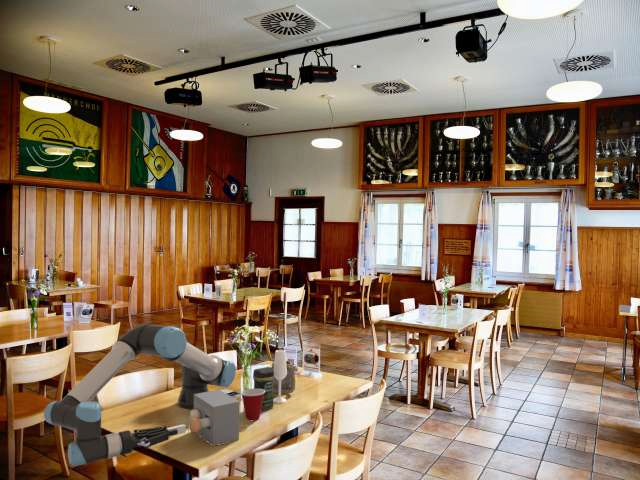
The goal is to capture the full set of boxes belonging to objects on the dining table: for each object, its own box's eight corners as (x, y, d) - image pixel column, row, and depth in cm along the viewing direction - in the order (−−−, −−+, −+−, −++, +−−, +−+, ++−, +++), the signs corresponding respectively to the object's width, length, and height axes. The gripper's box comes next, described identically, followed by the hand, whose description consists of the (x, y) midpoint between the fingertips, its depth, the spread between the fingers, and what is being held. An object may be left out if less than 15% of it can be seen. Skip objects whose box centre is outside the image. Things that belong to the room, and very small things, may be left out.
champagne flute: (273, 403, 237) (274, 352, 237) (271, 398, 244) (272, 349, 244) (287, 402, 239) (288, 352, 238) (285, 397, 245) (286, 349, 245)
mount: (193, 431, 202) (193, 394, 202) (218, 425, 209) (218, 389, 209) (212, 446, 188) (213, 407, 188) (238, 439, 195) (239, 401, 194)
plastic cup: (252, 411, 225) (253, 385, 225) (269, 417, 218) (270, 390, 218) (234, 418, 217) (235, 391, 217) (251, 424, 210) (252, 396, 210)
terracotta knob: (189, 430, 190) (189, 416, 190) (216, 423, 197) (216, 410, 197) (194, 435, 186) (194, 421, 186) (222, 428, 193) (222, 414, 193)
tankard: (265, 388, 260) (266, 359, 260) (286, 384, 267) (287, 356, 267) (284, 399, 243) (284, 368, 243) (306, 395, 250) (306, 365, 250)
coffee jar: (259, 412, 224) (260, 371, 224) (249, 407, 230) (250, 367, 230) (276, 407, 231) (277, 368, 231) (266, 403, 237) (267, 364, 237)
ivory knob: (189, 421, 199) (189, 408, 199) (215, 415, 206) (215, 403, 206) (194, 425, 195) (195, 412, 195) (221, 419, 202) (221, 406, 202)
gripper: (113, 448, 176) (177, 432, 191) (124, 461, 166) (191, 444, 180) (113, 427, 176) (177, 413, 191) (124, 439, 166) (191, 424, 180)
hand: (184, 428), depth 186 cm, fingers closed
